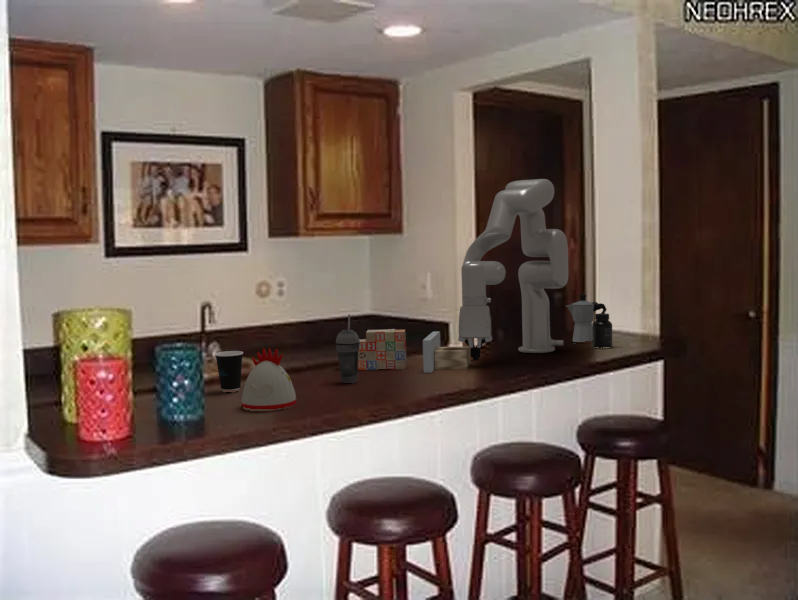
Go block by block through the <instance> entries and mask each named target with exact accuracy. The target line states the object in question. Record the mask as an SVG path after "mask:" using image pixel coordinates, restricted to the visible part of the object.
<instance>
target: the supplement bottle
mask: <svg viewBox="0 0 798 600" xmlns="http://www.w3.org/2000/svg"><path fill="white" fill-rule="evenodd" d="M594 317H595V318H594V321H592V334H593V343H592V348H593V347H599V348H601V347H602V348H603V347H612V348H613V322H611V321H610V313H606V312H605V313H602V312H600V313H599V312H598V313H594Z"/></svg>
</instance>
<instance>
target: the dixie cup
mask: <svg viewBox="0 0 798 600" xmlns="http://www.w3.org/2000/svg"><path fill="white" fill-rule="evenodd" d="M243 354H244V351H242V350H241V351H240V350H230V351H229V350H227V351H220V352H219V351H218V352H216V353H214V356H215V361H216V364H217V365H216V366H217V367H216V368H217V370H218V371H217V372H218V378H219V379H218V380H219V385H220V389H221V391H222V390H238V389H241V387H242V385H241V384H242V370H243V367H242V366H243Z"/></svg>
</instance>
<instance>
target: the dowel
mask: <svg viewBox="0 0 798 600" xmlns="http://www.w3.org/2000/svg"><path fill="white" fill-rule="evenodd" d="M466 339H468V338H466ZM473 343H474V344H475V338H473ZM461 344H462V346H461V347H469V346H468V345H467V344H466V343H464V342H461ZM469 357H470V362H471V361H473V358H471V349H470V347H469Z"/></svg>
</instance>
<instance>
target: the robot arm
mask: <svg viewBox="0 0 798 600" xmlns="http://www.w3.org/2000/svg"><path fill="white" fill-rule="evenodd" d="M554 196H555V186H554V184H553V183H552V181H550V180H549V179H546V178H537V179H521V180H514V181H511V182H508V183H507V184H506V185H505V189H504V190H500V191H499V192H498V193H496V194H495V197H494V200H493V203H492V207H491V210H490V214H489V217H488V220H487V224H486V227H485V230H484V231H483V232H482V233H481V234H479V235H478V237H477V238H476V239H475V240H473V242H472V243H471V245H469V247H468V249H467V250H466V253H465V256H464V259H463V263H462V265H461V269H460V270H461V274H460V275H461V294H462V295H461V306H460V307H459V315H458V337H457V339H458V340H457V341H458V342H461V343H462V342H464V343H466V344H467V345H468V346H469V347H470V349H471V358H473V360H472V361H479V358H481V347H482V346H483V345H484V344H485V343H489V342H492V340H493V336H492V316H491V311H490V310H491V309H490V306H489V305H487V304H488V303H492V302H491V301H492V299H491V298H490V297H487V285H489V286H490V285H494V286H495V285H499V284H501V283H502V282H503V281H504V280H505V278H506V275H507V271H506V268H505V266H504V265H503V264H502V263H501V262H499V261H495V260H487V261H486V260H482V258H483V257H484V256H485V254H486V253H487V252H489V251H490V250H492V249H493V248H496V247H497V246H499V245H502V244H503V243H506V242H507V241H508V240H510V239H511V237H512V235H513V234H512V233H513V229H514V226H515V223H516V222H515V221H516V219H517V216H519V221H520V236H521V237H520V240H521V250H522V253H523V254H524V255H525V256H527V257H529V258H530V257H531V258H532V257H533V258H549V260H529V261H526V262H524V263H522V264H520V266H519V268H518V272H517V274H518V283H519V286H520V292H521V325H522V331H521V332H522V345H521V346H519V347H518V351H519V352H521V353H526V354H536V353H537V354H542V353H543V354H545V353H552V352H554V351H555V350H556V349H555V348H556V347H555V346H559V347H560V346H561V347H563V346H564V340H562V339H552V336H551V326H550V325H551V321H550V320H551V319H550V317H551V316H550V314H551V313H550V310H551V309H550V299H549V296H548V294H547V293H546V291H545V289H563V288H564V287H565V286H566V285H567V283H568V281H569V247H568V240H567V237H566V234H565V233H564V231H562V230H561V229H557V228H546V227H547V225H546V215H545V212H544V210H543V208H544V207H546V206H548V205H549V204H550V203H551V202H552V201H553V199H554ZM466 338H468V339H466ZM473 338H474V339H477V340H476V341H477V342H476V345H475V342H474V343H473Z"/></svg>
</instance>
